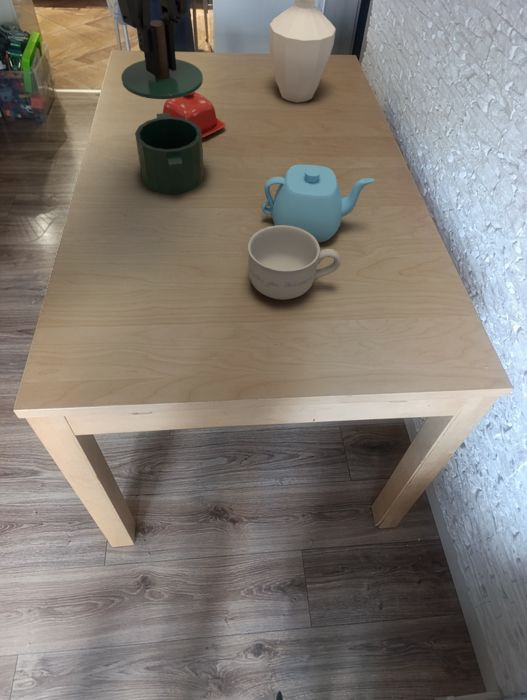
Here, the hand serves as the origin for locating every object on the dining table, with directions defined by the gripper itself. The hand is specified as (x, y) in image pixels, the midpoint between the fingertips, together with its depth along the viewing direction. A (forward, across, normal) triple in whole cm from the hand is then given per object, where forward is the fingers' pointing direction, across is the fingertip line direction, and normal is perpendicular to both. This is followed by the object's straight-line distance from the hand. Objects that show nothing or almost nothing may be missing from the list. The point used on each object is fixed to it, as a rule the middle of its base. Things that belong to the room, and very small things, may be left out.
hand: (161, 69), depth 79 cm
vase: (+20, +44, +9) cm, 49 cm away
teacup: (+20, -3, -34) cm, 40 cm away
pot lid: (+2, 0, 0) cm, 2 cm away
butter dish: (+20, +14, +12) cm, 28 cm away
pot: (+20, +1, +1) cm, 20 cm away
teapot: (+20, +11, -26) cm, 35 cm away
